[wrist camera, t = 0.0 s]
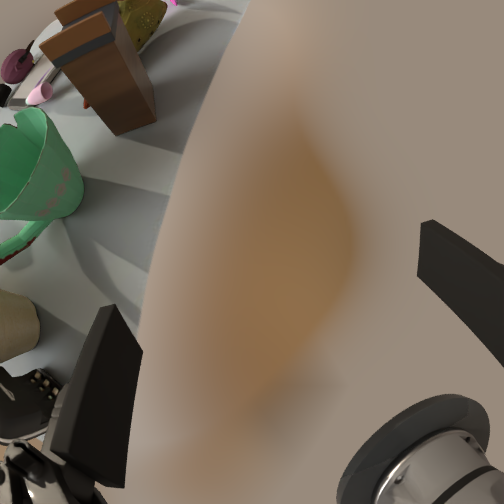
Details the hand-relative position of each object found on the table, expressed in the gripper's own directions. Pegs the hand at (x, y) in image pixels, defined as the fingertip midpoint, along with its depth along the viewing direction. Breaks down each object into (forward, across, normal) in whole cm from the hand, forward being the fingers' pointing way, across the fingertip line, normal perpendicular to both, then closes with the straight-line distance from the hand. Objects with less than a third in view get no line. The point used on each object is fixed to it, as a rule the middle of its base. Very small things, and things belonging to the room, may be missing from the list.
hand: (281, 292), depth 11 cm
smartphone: (+33, +24, -24) cm, 48 cm away
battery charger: (+7, +24, +12) cm, 27 cm away
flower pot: (+12, +27, +5) cm, 30 cm away
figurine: (+31, +35, -24) cm, 52 cm away
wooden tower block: (+23, +9, -10) cm, 27 cm away
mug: (+18, +20, -3) cm, 27 cm away
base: (+14, +9, -18) cm, 24 cm away
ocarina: (+29, +9, -19) cm, 36 cm away
